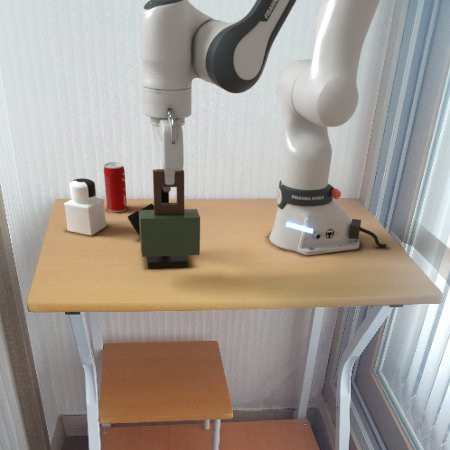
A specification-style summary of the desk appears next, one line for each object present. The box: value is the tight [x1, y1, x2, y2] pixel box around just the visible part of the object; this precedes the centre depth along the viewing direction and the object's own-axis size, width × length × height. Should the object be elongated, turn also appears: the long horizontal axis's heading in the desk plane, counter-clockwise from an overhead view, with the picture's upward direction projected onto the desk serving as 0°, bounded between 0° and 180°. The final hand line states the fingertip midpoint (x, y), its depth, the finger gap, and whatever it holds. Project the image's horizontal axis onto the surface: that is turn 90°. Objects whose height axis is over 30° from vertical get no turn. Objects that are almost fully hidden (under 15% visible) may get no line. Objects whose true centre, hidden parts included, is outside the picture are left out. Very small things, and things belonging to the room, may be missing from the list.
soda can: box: [103, 161, 128, 213], centre depth 156 cm, size 6×6×12 cm
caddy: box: [139, 169, 201, 258], centre depth 118 cm, size 12×5×16 cm, turn 100°
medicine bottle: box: [63, 177, 107, 236], centre depth 144 cm, size 7×7×12 cm
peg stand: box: [145, 168, 189, 270], centre depth 129 cm, size 9×11×19 cm
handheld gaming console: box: [127, 203, 154, 241], centre depth 145 cm, size 12×7×10 cm
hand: (168, 181), depth 114 cm, fingers closed on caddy
